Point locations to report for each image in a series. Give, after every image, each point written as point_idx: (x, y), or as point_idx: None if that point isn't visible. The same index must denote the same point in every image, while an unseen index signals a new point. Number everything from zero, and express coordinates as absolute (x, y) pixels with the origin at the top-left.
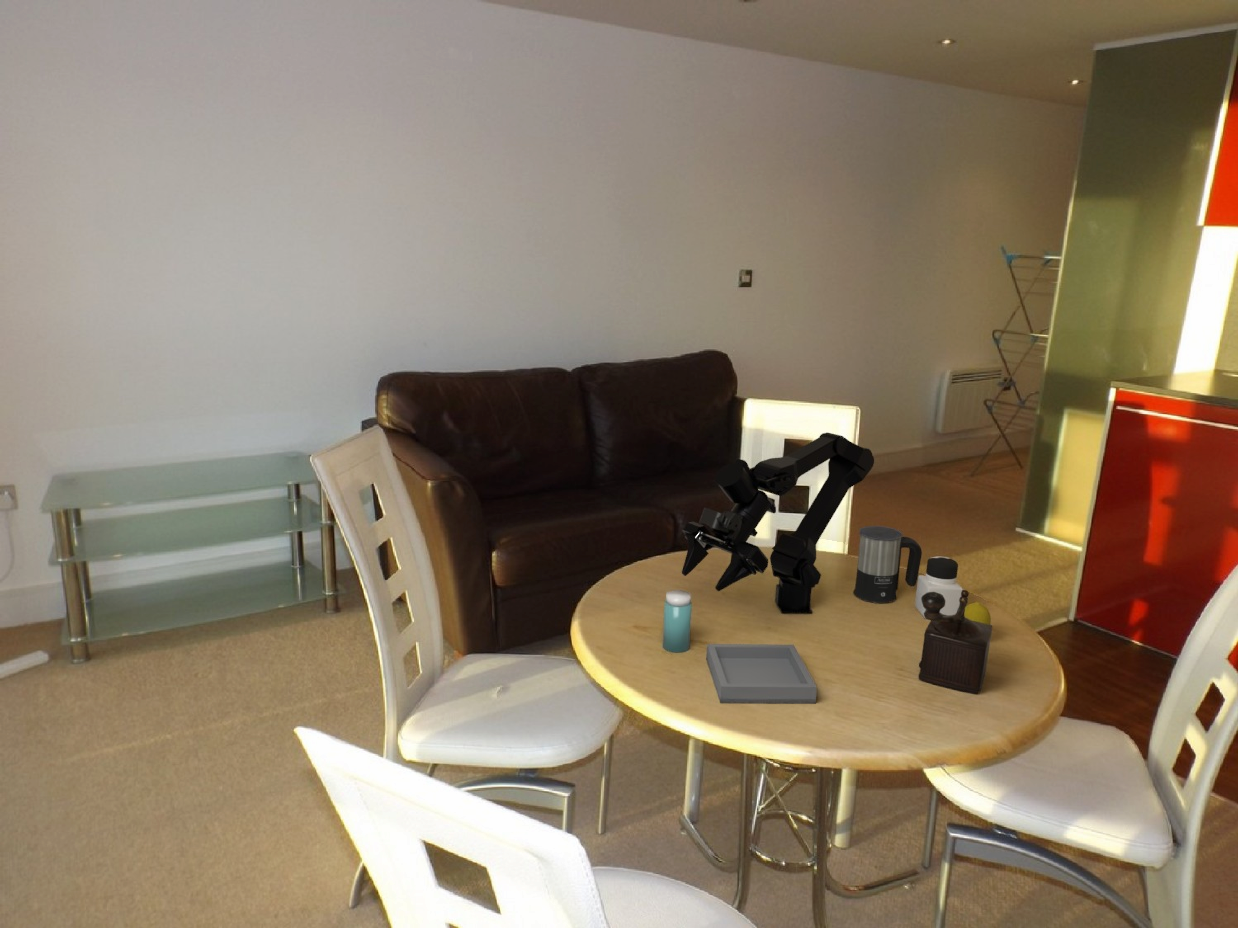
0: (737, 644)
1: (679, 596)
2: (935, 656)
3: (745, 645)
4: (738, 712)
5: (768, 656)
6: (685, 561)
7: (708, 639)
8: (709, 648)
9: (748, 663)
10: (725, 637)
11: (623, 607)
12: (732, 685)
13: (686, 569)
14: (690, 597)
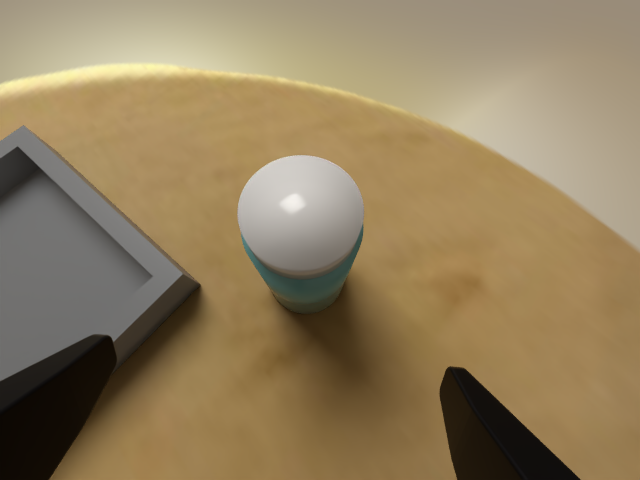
0: None
1: (283, 196)
2: None
3: None
4: None
5: None
6: (534, 444)
7: (276, 395)
8: (160, 256)
9: (70, 336)
10: (246, 459)
11: (617, 354)
12: (1, 147)
13: (458, 404)
14: (243, 236)
